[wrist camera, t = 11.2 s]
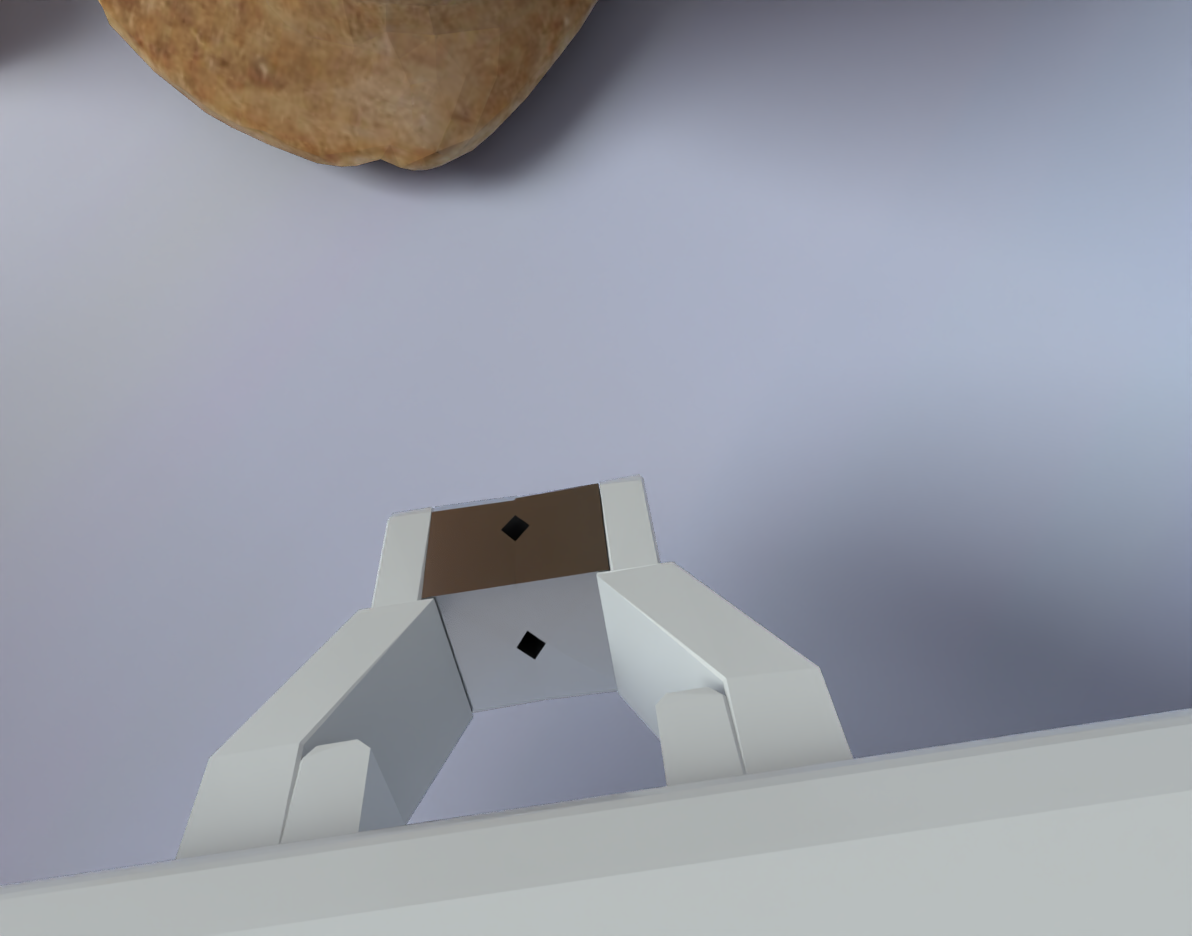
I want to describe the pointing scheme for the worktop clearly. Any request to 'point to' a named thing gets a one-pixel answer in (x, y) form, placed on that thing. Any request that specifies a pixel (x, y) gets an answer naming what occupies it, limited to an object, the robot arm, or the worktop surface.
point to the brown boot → (354, 68)
